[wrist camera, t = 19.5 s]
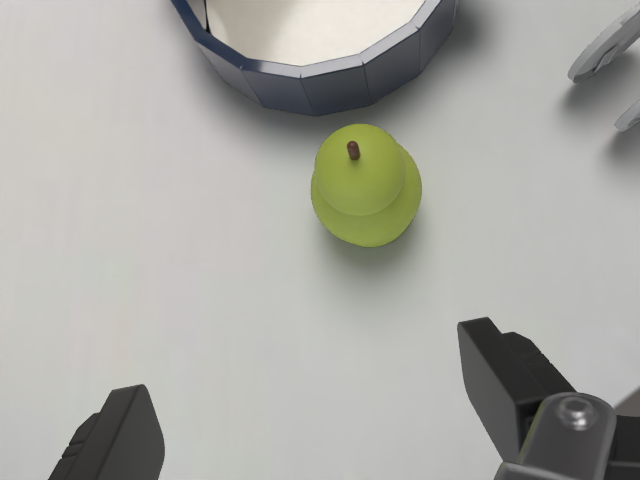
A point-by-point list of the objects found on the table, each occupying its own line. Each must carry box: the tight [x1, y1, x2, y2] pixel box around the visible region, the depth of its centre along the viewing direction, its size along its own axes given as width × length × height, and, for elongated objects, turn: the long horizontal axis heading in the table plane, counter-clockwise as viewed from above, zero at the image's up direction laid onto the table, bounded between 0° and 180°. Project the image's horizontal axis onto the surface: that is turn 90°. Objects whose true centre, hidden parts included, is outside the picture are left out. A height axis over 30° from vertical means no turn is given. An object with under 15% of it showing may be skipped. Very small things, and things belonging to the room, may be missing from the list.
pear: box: [311, 124, 422, 247], centre depth 28 cm, size 6×6×10 cm
